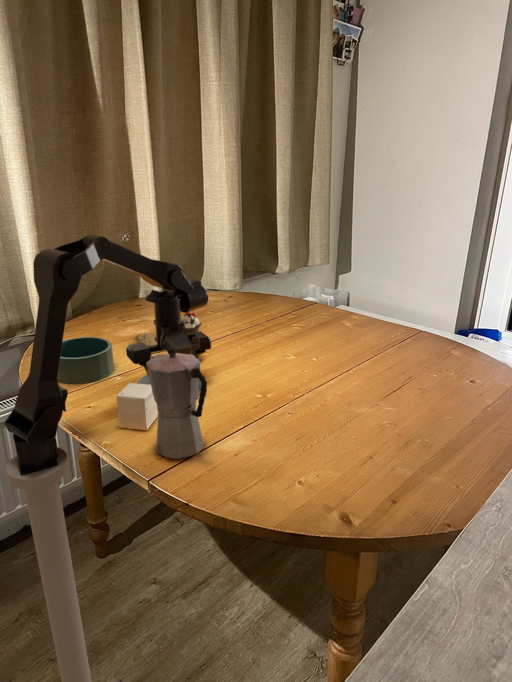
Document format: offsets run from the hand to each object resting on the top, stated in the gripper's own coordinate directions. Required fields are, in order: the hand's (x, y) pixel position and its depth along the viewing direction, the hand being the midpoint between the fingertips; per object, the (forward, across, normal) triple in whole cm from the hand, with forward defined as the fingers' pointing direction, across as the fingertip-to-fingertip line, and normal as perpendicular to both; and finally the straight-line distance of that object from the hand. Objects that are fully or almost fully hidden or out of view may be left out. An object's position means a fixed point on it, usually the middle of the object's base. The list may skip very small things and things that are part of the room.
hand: (171, 380), depth 118 cm
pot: (+2, -16, +19) cm, 25 cm away
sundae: (+2, +10, +12) cm, 16 cm away
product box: (+2, -12, -12) cm, 17 cm away
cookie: (+2, +8, +29) cm, 30 cm away
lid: (+1, 0, 0) cm, 1 cm away
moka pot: (+2, -8, -25) cm, 26 cm away
